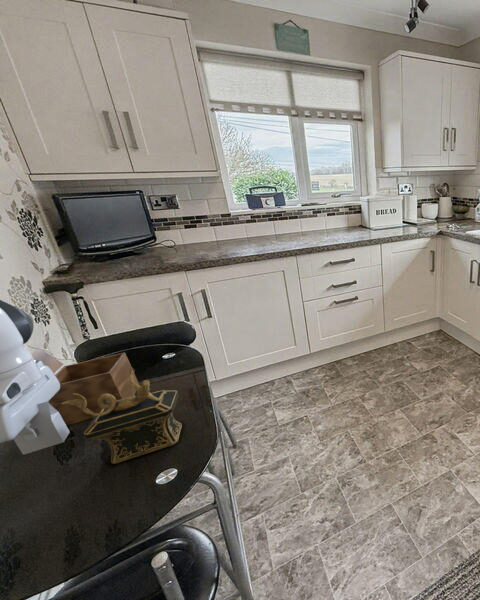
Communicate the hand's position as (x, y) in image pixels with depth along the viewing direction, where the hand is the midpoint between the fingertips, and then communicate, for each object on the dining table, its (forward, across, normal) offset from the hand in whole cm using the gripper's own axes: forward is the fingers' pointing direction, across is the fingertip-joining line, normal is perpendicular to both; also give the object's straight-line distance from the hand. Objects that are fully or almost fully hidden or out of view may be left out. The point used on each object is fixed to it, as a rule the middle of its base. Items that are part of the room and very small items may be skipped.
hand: (39, 430), depth 73 cm
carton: (+11, -25, 0) cm, 27 cm away
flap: (-6, -25, -9) cm, 27 cm away
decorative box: (+10, +2, +17) cm, 20 cm away
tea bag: (+4, 0, 0) cm, 4 cm away
